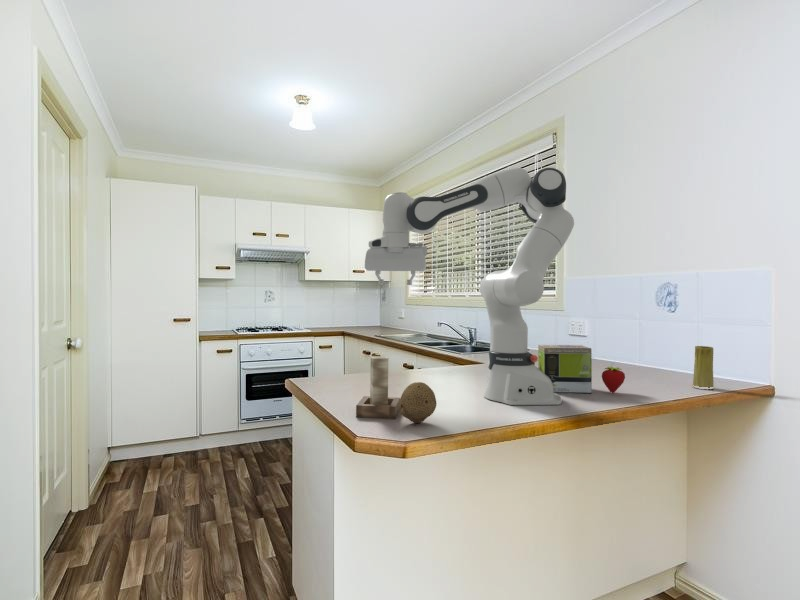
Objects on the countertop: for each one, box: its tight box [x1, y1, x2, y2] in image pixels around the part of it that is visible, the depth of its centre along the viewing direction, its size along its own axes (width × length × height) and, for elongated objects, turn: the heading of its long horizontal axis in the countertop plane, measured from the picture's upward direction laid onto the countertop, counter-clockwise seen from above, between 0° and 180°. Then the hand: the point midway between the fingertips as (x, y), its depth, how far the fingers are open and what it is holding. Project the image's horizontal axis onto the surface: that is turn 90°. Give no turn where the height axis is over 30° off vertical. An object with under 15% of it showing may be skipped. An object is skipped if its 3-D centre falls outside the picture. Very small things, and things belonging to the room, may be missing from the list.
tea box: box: [537, 344, 593, 394], centre depth 150 cm, size 15×10×15 cm
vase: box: [692, 345, 715, 388], centre depth 155 cm, size 6×6×14 cm
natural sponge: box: [398, 381, 437, 424], centre depth 109 cm, size 9×9×10 cm
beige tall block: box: [369, 355, 389, 405], centre depth 118 cm, size 4×4×14 cm
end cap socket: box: [355, 395, 401, 420], centre depth 118 cm, size 10×10×3 cm
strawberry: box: [601, 362, 626, 393], centre depth 146 cm, size 6×8×10 cm
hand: (395, 284), depth 148 cm, fingers open, 8 cm apart
